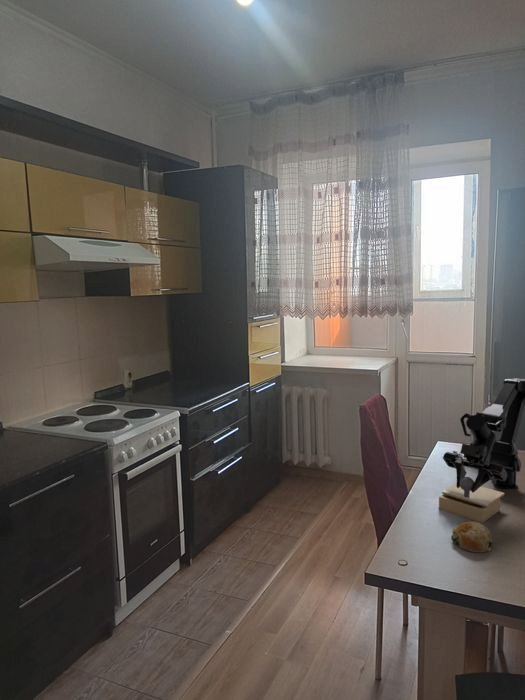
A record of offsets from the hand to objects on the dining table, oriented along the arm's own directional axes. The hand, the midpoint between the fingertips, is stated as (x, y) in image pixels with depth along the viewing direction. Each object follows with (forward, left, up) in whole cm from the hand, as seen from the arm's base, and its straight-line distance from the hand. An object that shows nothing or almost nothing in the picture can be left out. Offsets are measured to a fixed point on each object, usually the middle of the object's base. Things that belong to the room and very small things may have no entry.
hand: (464, 489), depth 159 cm
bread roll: (+6, +18, -8) cm, 21 cm away
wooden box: (-2, -2, -8) cm, 8 cm away
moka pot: (-27, -46, -8) cm, 54 cm away
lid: (-4, -4, -3) cm, 7 cm away
